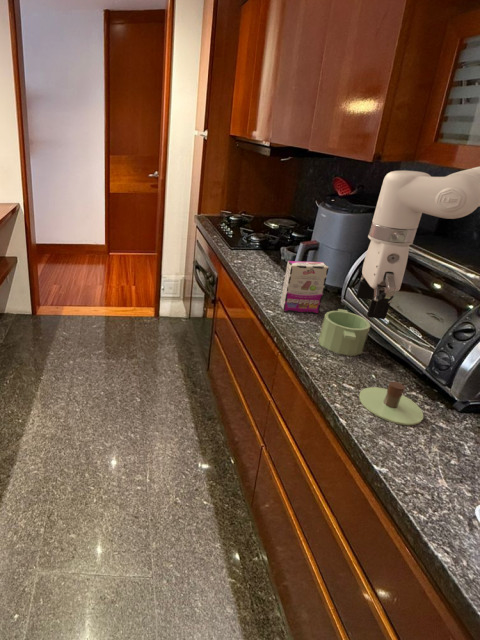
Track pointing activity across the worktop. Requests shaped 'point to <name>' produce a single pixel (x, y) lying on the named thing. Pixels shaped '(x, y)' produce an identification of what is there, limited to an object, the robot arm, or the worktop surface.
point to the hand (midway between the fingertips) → (369, 307)
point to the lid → (391, 404)
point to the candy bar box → (303, 286)
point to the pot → (344, 332)
